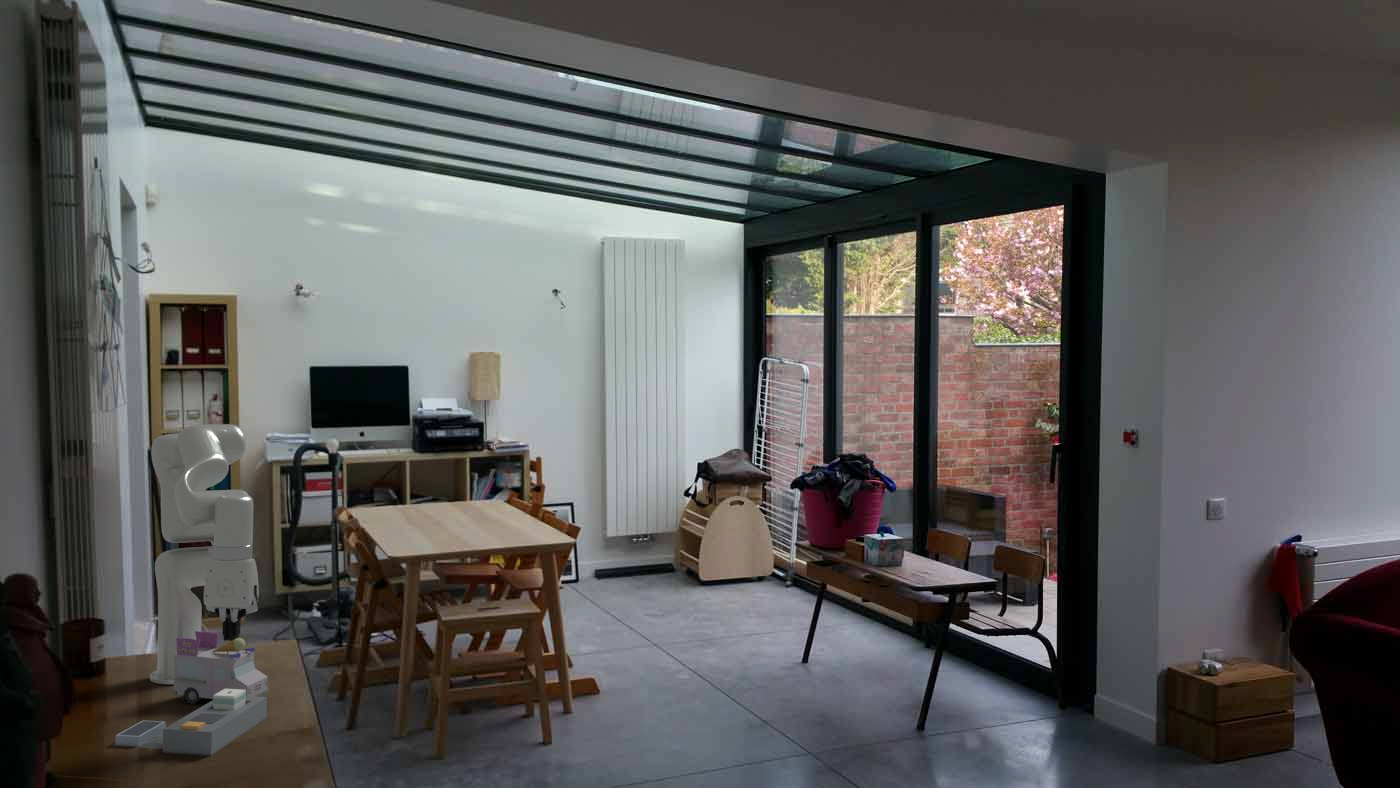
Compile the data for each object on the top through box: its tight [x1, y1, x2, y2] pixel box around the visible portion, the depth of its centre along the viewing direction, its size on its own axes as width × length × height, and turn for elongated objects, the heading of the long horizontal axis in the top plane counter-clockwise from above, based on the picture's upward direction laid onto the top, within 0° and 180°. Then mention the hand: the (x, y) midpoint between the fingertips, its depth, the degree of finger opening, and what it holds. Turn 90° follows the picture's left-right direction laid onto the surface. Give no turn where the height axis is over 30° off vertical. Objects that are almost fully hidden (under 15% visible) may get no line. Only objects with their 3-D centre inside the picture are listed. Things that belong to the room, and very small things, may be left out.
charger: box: [212, 689, 246, 710], centre depth 220 cm, size 5×5×7 cm
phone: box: [114, 719, 167, 746], centre depth 212 cm, size 9×5×2 cm, turn 176°
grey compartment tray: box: [162, 696, 268, 757], centre depth 215 cm, size 22×10×6 cm, turn 176°
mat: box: [111, 733, 163, 750], centre depth 212 cm, size 10×12×1 cm
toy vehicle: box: [171, 630, 270, 705], centre depth 237 cm, size 9×20×15 cm, turn 78°
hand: (231, 638), depth 220 cm, fingers closed
